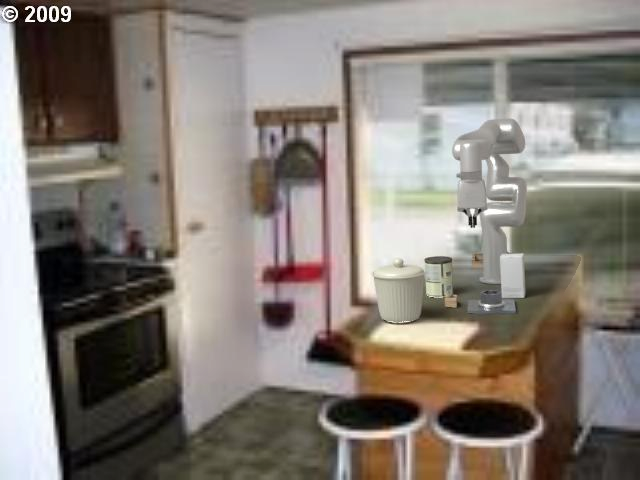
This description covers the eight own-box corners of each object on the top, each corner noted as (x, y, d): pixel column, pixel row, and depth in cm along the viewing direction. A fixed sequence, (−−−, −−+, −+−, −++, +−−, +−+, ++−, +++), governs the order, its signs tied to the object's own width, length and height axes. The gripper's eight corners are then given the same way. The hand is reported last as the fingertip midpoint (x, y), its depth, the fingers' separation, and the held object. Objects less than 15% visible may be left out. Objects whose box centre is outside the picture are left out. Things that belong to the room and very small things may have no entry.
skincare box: (525, 294, 292) (525, 253, 290) (524, 298, 286) (523, 256, 284) (502, 294, 295) (501, 253, 293) (500, 298, 289) (499, 256, 287)
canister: (413, 329, 254) (411, 264, 251) (364, 324, 264) (361, 262, 261) (436, 315, 269) (434, 254, 266) (388, 311, 279) (386, 252, 276)
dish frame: (472, 260, 365) (472, 253, 364) (515, 259, 361) (515, 252, 360) (471, 268, 345) (471, 261, 344) (517, 268, 341) (517, 261, 340)
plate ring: (480, 299, 280) (480, 290, 279) (501, 299, 278) (501, 289, 278) (480, 304, 273) (480, 294, 272) (502, 304, 271) (501, 294, 271)
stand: (445, 303, 286) (445, 291, 285) (457, 303, 285) (456, 291, 285) (445, 307, 280) (444, 295, 279) (456, 307, 279) (456, 295, 278)
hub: (468, 302, 285) (468, 290, 285) (514, 302, 282) (513, 289, 281) (467, 313, 270) (467, 300, 269) (515, 313, 266) (515, 300, 266)
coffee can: (430, 291, 306) (429, 255, 304) (456, 292, 302) (455, 256, 299) (422, 297, 297) (420, 260, 294) (449, 299, 292) (447, 261, 290)
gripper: (449, 178, 279) (451, 229, 282) (493, 176, 276) (494, 228, 279) (450, 176, 287) (452, 226, 289) (492, 174, 284) (493, 225, 287)
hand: (472, 227), depth 284 cm, fingers closed
